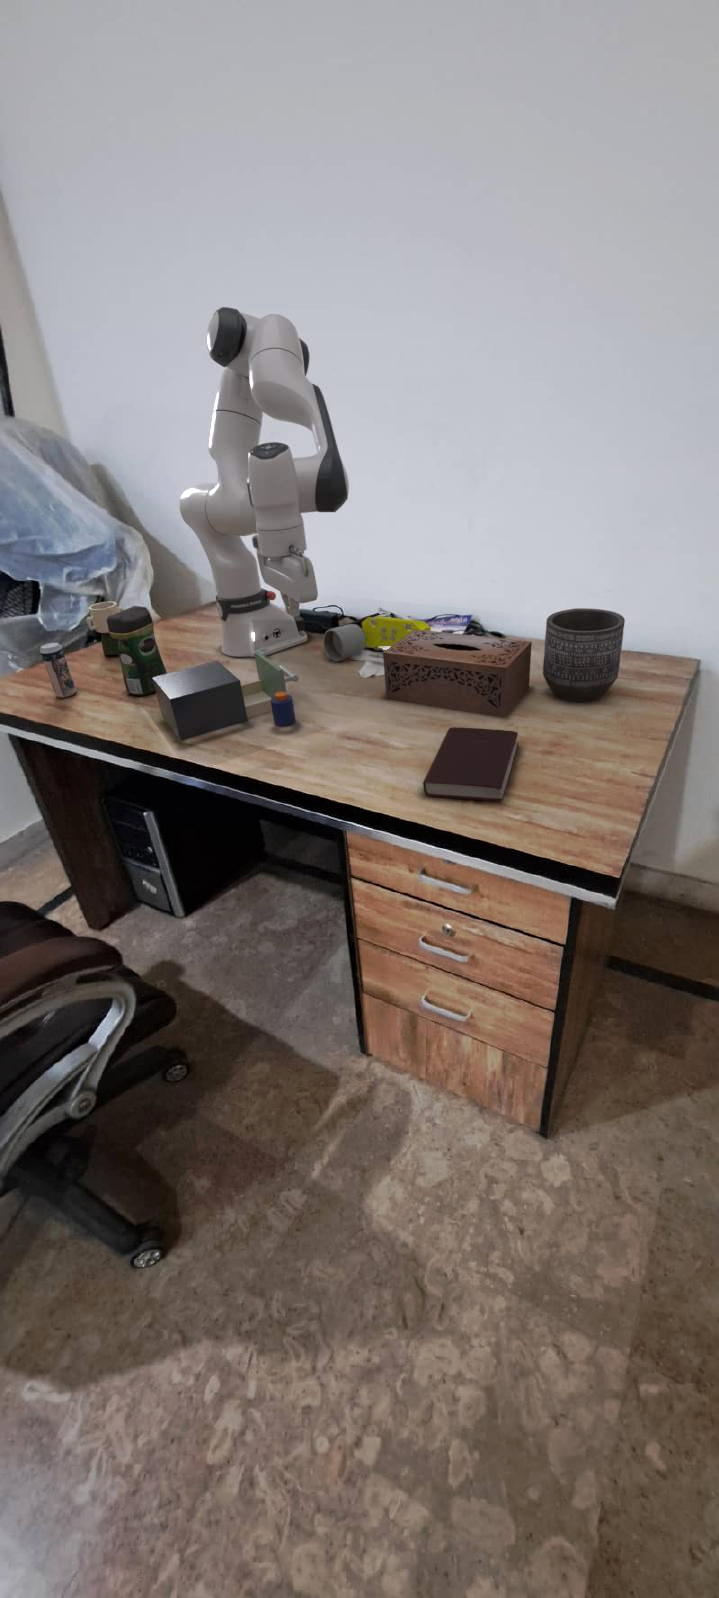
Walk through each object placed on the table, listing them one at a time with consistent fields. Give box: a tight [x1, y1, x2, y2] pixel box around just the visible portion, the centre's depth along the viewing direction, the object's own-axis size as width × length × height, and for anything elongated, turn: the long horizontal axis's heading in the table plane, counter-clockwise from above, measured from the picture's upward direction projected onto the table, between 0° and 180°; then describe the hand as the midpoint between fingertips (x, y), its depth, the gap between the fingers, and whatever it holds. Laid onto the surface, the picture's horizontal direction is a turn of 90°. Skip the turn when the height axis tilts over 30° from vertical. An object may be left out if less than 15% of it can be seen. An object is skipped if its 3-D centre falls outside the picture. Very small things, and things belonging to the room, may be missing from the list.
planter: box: [542, 607, 626, 703], centre depth 131 cm, size 14×14×15 cm
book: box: [422, 726, 519, 802], centre depth 112 cm, size 12×19×3 cm, turn 161°
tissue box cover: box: [382, 629, 533, 718], centre depth 137 cm, size 26×14×10 cm, turn 60°
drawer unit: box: [152, 660, 249, 742], centre depth 135 cm, size 14×14×10 cm
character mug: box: [85, 601, 125, 656], centre depth 176 cm, size 11×7×13 cm, turn 141°
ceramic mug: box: [322, 624, 366, 662], centre depth 162 cm, size 11×8×8 cm
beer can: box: [39, 641, 77, 698], centre depth 155 cm, size 5×5×12 cm
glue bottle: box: [270, 691, 297, 728], centre depth 131 cm, size 4×4×7 cm
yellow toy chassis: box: [361, 615, 432, 652], centre depth 162 cm, size 16×6×8 cm, turn 58°
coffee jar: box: [107, 605, 168, 697], centre depth 152 cm, size 10×8×19 cm
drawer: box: [241, 651, 300, 719], centre depth 139 cm, size 18×14×9 cm
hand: (293, 614), depth 133 cm, fingers closed
